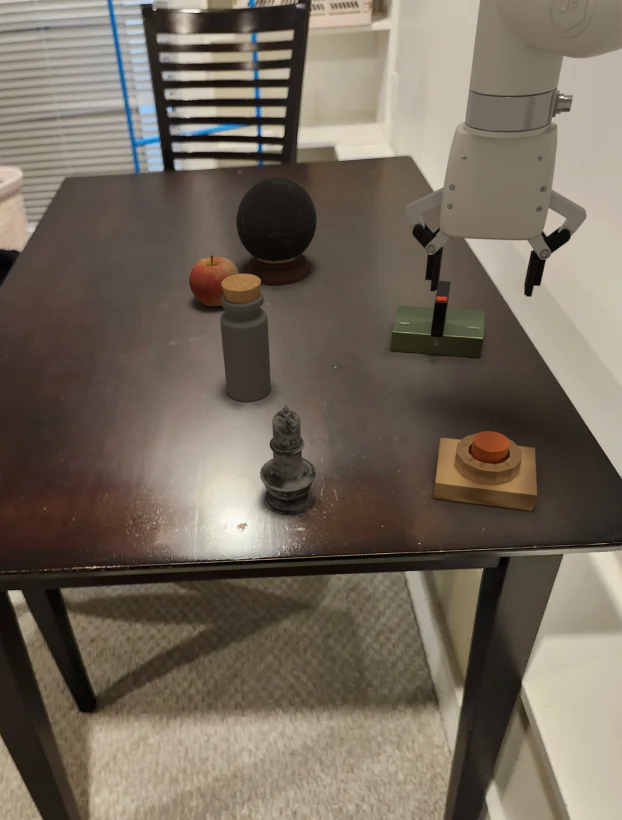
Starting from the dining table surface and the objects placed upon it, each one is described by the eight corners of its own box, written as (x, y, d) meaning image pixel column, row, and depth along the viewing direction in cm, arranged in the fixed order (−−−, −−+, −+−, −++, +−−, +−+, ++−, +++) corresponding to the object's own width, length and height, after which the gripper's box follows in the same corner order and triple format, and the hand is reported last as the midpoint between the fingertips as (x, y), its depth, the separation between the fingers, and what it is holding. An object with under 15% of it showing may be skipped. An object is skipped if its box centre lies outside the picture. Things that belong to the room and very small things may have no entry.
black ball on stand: (326, 280, 114) (327, 186, 104) (249, 292, 113) (243, 198, 103) (304, 251, 124) (303, 162, 114) (233, 262, 122) (226, 172, 113)
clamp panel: (481, 330, 99) (485, 309, 97) (479, 369, 91) (483, 347, 89) (396, 324, 102) (398, 304, 100) (387, 361, 94) (389, 340, 92)
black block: (434, 314, 97) (439, 278, 93) (446, 315, 97) (451, 279, 93) (430, 336, 92) (434, 300, 89) (442, 337, 92) (447, 301, 88)
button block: (530, 463, 76) (538, 434, 74) (532, 511, 71) (541, 481, 68) (438, 452, 79) (442, 424, 76) (432, 498, 73) (437, 469, 70)
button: (506, 446, 73) (509, 432, 72) (506, 467, 71) (509, 453, 69) (471, 442, 74) (473, 429, 73) (470, 462, 71) (472, 449, 70)
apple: (235, 315, 107) (231, 265, 102) (186, 313, 109) (180, 264, 103) (246, 292, 113) (242, 244, 108) (199, 290, 115) (193, 243, 109)
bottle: (228, 404, 89) (217, 294, 79) (225, 380, 93) (215, 273, 83) (273, 399, 89) (268, 289, 79) (268, 375, 93) (263, 269, 83)
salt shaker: (316, 480, 76) (317, 388, 68) (315, 517, 72) (315, 423, 64) (263, 480, 77) (258, 388, 69) (259, 515, 73) (252, 422, 65)
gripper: (608, 99, 63) (565, 278, 75) (416, 102, 68) (403, 270, 79) (616, 120, 58) (568, 309, 69) (407, 121, 62) (394, 299, 74)
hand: (480, 288), depth 74 cm, fingers open, 9 cm apart
